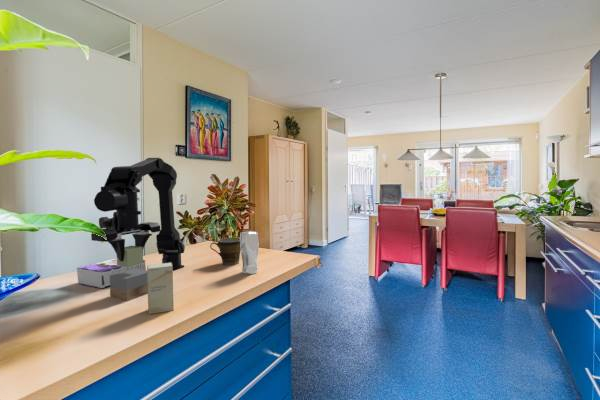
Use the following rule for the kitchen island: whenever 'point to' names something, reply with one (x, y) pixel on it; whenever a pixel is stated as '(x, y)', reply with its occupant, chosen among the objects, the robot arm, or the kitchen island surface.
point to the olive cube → (131, 256)
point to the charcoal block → (129, 279)
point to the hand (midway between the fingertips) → (129, 259)
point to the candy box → (102, 272)
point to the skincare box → (160, 287)
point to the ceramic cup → (228, 250)
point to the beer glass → (249, 251)
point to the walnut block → (128, 293)
